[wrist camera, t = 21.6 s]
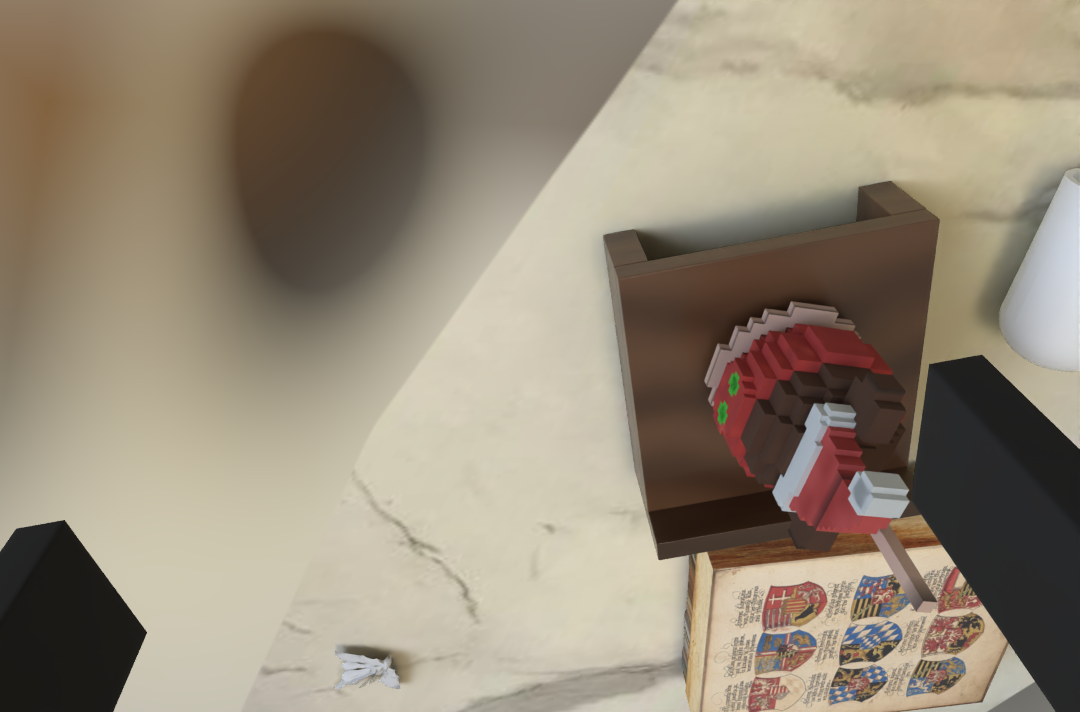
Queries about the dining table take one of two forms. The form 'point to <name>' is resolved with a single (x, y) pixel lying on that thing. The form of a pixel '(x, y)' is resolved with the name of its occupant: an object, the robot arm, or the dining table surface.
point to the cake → (817, 429)
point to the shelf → (730, 300)
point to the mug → (1049, 287)
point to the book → (833, 629)
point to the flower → (366, 670)
